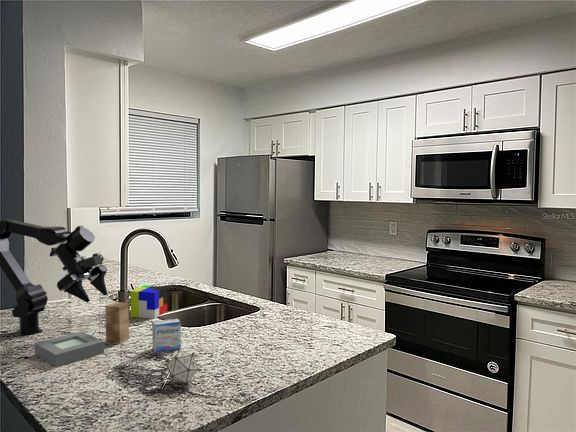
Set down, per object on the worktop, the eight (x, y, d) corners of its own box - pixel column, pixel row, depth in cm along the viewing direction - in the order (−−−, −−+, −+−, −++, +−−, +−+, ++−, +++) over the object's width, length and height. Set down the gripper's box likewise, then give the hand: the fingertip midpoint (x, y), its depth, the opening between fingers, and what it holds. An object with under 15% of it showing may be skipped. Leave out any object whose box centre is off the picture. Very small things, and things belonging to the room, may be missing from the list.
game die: (177, 394, 115) (168, 357, 119) (208, 382, 115) (198, 345, 120) (164, 391, 107) (156, 351, 111) (198, 378, 107) (188, 339, 112)
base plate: (35, 354, 131) (34, 343, 131) (81, 342, 142) (81, 331, 142) (56, 367, 122) (55, 354, 122) (104, 352, 133) (104, 341, 133)
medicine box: (155, 353, 133) (154, 325, 133) (152, 348, 137) (151, 321, 137) (181, 349, 137) (181, 321, 136) (177, 344, 141) (177, 317, 140)
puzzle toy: (154, 318, 168) (154, 292, 167) (130, 316, 170) (130, 291, 169) (167, 311, 178) (167, 286, 177) (144, 309, 180) (144, 285, 179)
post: (106, 342, 142) (105, 305, 141) (115, 337, 146) (114, 302, 146) (119, 344, 140) (119, 307, 140) (129, 339, 145) (128, 303, 144)
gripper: (68, 249, 135) (97, 291, 134) (105, 242, 154) (130, 278, 152) (44, 270, 138) (72, 311, 136) (83, 260, 156) (108, 296, 155)
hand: (97, 298), depth 145 cm, fingers open, 9 cm apart
